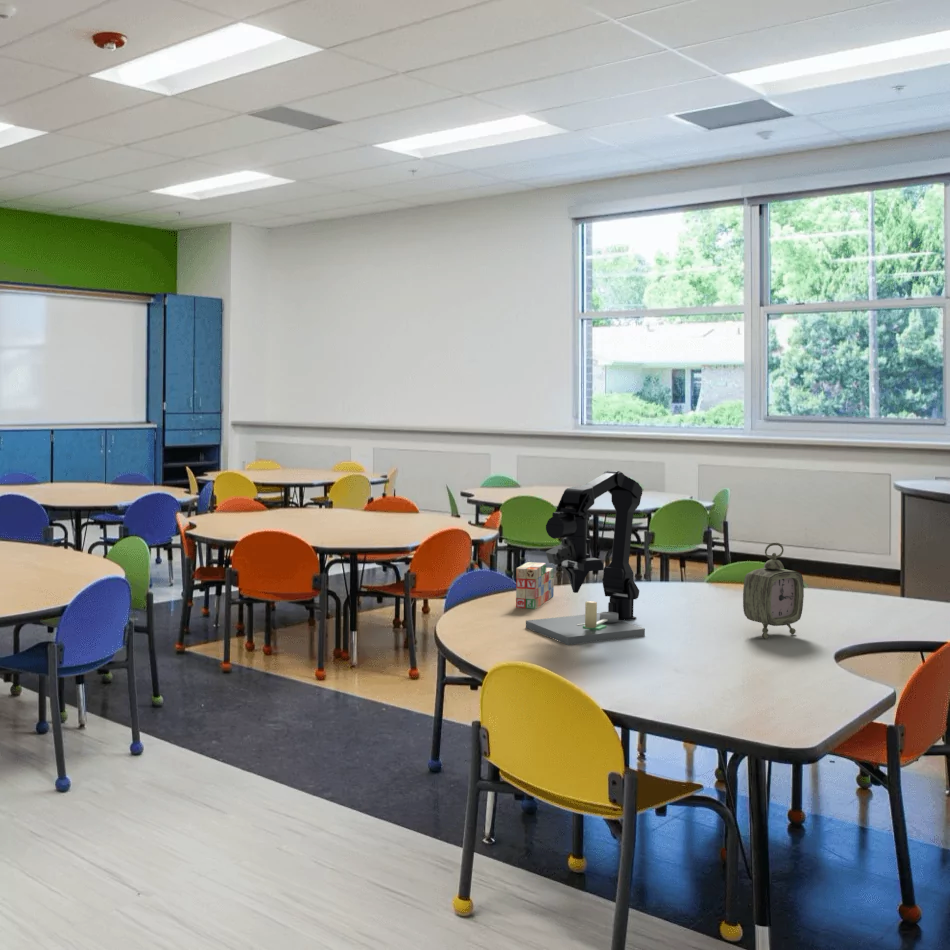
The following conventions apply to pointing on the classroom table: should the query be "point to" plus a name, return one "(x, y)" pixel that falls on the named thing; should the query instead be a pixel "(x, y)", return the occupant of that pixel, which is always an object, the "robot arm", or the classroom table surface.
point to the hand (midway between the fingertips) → (575, 592)
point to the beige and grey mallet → (592, 615)
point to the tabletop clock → (773, 594)
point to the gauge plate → (583, 629)
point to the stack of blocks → (533, 585)
